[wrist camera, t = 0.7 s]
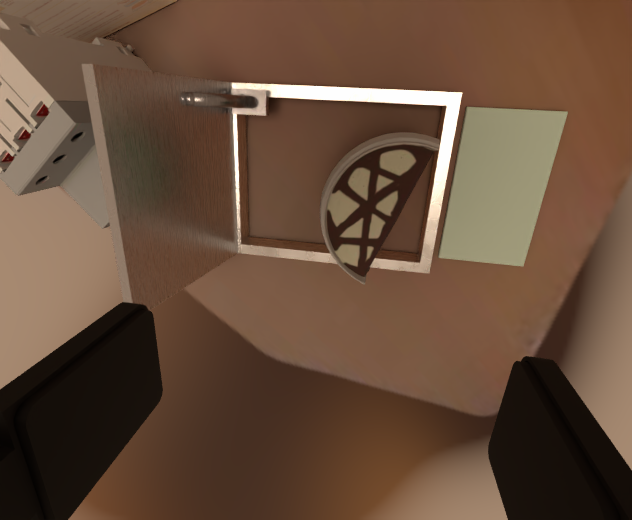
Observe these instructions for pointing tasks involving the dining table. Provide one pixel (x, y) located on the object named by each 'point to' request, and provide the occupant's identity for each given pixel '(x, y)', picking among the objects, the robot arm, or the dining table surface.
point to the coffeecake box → (82, 15)
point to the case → (211, 173)
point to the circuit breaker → (52, 112)
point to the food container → (370, 196)
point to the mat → (499, 183)
